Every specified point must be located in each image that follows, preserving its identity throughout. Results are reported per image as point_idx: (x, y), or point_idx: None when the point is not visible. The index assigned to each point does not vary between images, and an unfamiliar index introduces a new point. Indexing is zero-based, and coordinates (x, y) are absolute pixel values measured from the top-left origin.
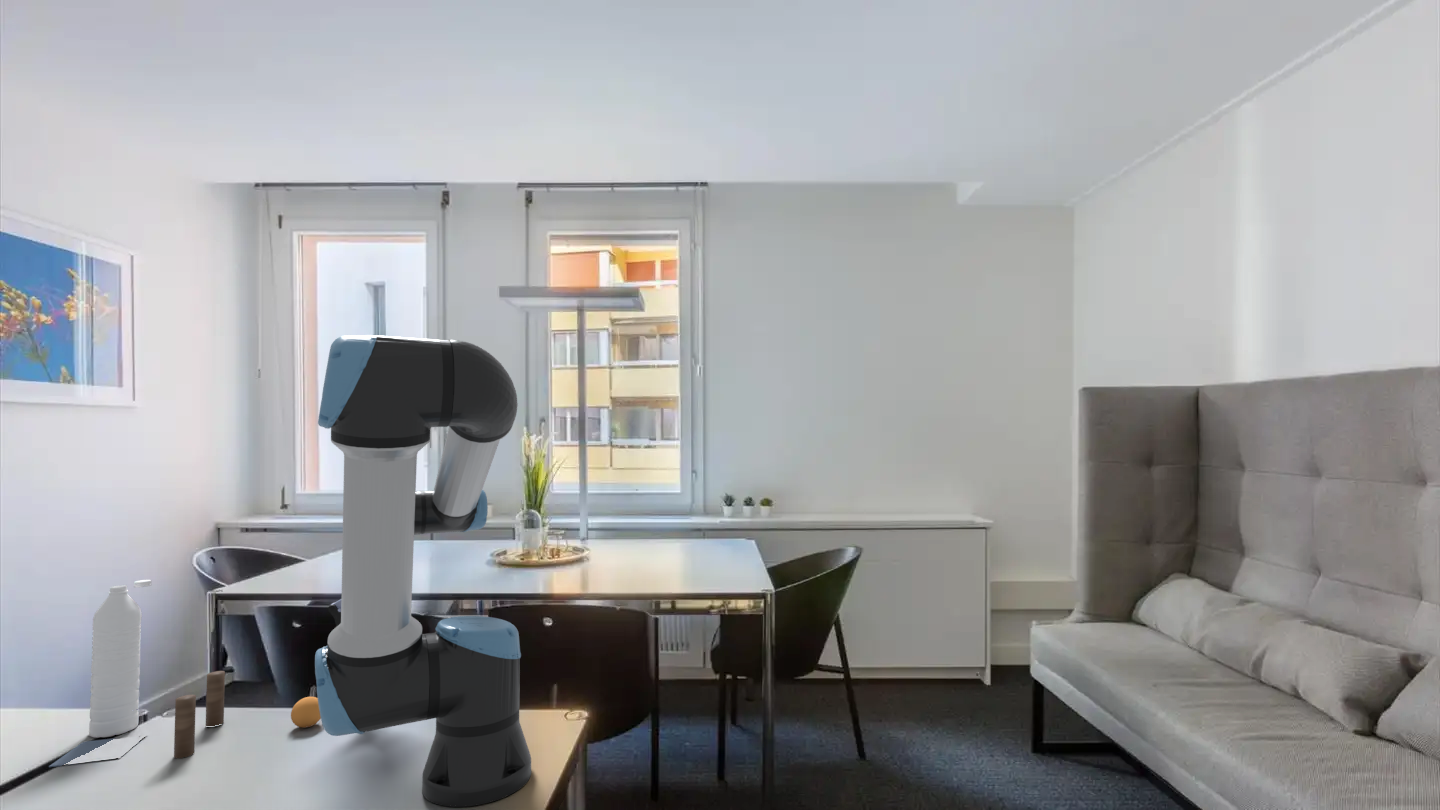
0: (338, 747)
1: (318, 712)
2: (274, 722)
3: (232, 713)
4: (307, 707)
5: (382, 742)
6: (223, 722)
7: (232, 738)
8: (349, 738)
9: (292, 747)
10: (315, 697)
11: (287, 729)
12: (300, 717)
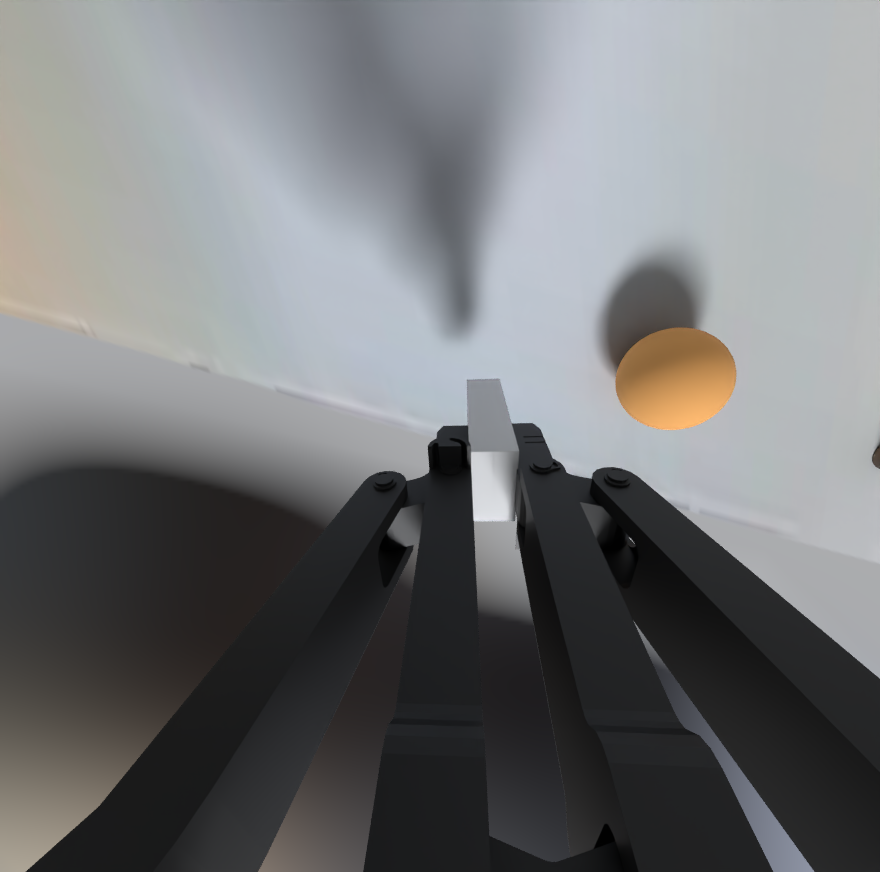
0: (531, 120)
1: (636, 354)
2: (739, 424)
3: (838, 516)
4: (689, 349)
5: (378, 125)
6: (877, 455)
7: (870, 331)
8: (505, 210)
9: (693, 177)
10: (668, 408)
11: None
12: (696, 329)
